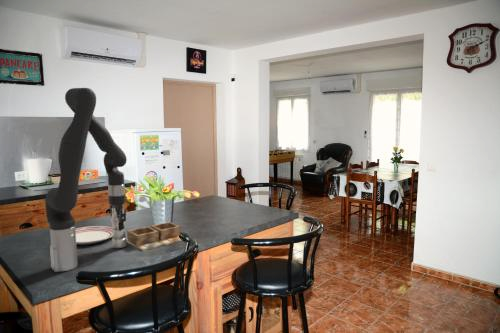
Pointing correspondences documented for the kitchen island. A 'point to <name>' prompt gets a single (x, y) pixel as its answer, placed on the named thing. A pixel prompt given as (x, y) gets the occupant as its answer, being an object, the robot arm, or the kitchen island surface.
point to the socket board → (154, 236)
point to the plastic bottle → (117, 233)
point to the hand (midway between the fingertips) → (118, 228)
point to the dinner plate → (93, 234)
